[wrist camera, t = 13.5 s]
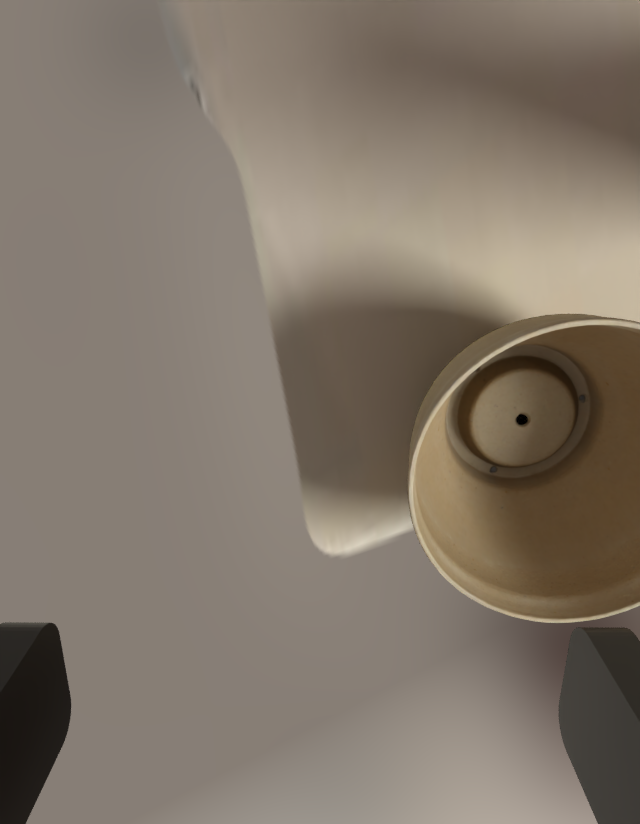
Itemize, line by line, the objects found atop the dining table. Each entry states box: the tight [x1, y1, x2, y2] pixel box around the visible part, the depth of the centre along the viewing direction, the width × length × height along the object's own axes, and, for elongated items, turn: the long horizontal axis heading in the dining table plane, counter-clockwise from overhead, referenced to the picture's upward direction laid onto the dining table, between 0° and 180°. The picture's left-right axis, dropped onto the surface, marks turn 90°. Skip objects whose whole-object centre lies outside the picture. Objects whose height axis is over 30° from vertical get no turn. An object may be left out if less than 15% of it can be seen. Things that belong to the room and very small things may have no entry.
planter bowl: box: [407, 314, 640, 623], centre depth 34 cm, size 16×16×11 cm
